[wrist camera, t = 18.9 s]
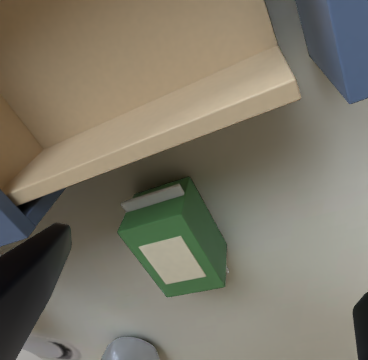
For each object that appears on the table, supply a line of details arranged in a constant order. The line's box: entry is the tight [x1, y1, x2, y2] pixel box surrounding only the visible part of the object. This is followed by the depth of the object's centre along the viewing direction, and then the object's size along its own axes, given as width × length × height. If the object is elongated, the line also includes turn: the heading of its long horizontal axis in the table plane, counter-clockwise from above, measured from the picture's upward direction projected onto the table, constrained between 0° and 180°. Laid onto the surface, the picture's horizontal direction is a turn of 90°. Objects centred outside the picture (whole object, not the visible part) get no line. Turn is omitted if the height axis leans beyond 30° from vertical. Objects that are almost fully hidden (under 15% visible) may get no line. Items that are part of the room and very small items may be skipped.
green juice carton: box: [117, 177, 229, 297], centre depth 23 cm, size 9×5×4 cm, turn 26°
